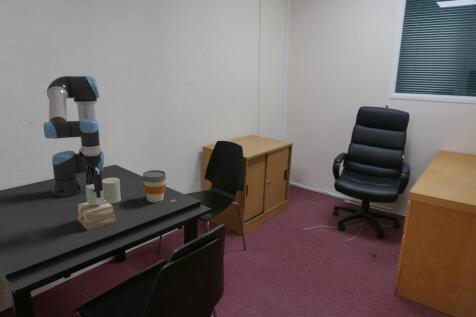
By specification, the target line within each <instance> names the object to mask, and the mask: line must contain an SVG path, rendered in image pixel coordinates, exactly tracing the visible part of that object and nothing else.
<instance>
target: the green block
mask: <svg viewBox="0 0 476 317" xmlns="http://www.w3.org/2000/svg"><path fill="white" fill-rule="evenodd" d="M84 187H85V195H86V196H85V197H86V202H88V203H89V204H90V205H92V206H93V205H96V204H95V195H94V191H95V188H94V184H91V185H88V184H87V185H85V186H84ZM101 200H102V203H104V202H105V200H104V187H103V190H102V191H101Z"/></svg>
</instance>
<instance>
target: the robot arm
mask: <svg viewBox="0 0 476 317" xmlns="http://www.w3.org/2000/svg"><path fill="white" fill-rule="evenodd" d="M46 96H47V98H48V109H49V110H48V121H45V122H44V123H43V134H44V137H45V139H49V140H50V139H68V138H80V146H81V147H80V148H79V149H78V152H77V153H76V152H75V151H74V150H65V151H63V150H62V151H60V152H57V153H55V154H54V155H52V157H51V161H52V162H51V164H52V171H53V172H52V173H53V178H54V180H53V181H54V182H53V185H52V190H51V192H52V195H53V196H54V197H56V198H57V197H58V198H59V197H60V198H64V197H65V198H67V197H72V196H76V195H79V194H80V193H82V191H83V190H82V184H81V183H80V180H79V178H78V175H79V174H80V175H81V174H85V181H86V182H85V183H86V184H87V185H91V184H94V188H95V191H94V195H95V204H96V205H97V204H101V203H102V200H101V191H102V190H103V186H102V180H103V178H102V171H103V170H104V165H105V164H104V162H105V152H104V151H103V150H102V149H101V144H100V143H101V142H100V133H99V132H100V130H99V128H100V127H99V122H98V120H97V119H96V110H95V104H96V103H97V102H98V99H99V98H100V92H99V88H98V83H97V80H96V78H95V77H94V76H88V75H82V76H81V75H80V76H79V75H78V76H77V75H75V76H74V75H67V76H66V75H62V76H59V77H57V78H55V79H54V80H52V81H51V82H50V84H49V85H48V87H47V90H46ZM68 99H73V102H74V103H75V104H76V105H77V114H78V120H68V115H67V114H68V112H67V100H68Z"/></svg>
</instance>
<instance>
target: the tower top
mask: <svg viewBox="0 0 476 317" xmlns="http://www.w3.org/2000/svg"><path fill="white" fill-rule="evenodd" d="M104 200H105V199H104ZM77 213H79V214H80V215H81V216H82V217H83V218H84V219H85V220H86V221H87V222H89V221H93V220H97V219H100V218H104V217H107V216H111V215H114V214H115V213H114V206H113V205H112V203H108V202H107V201H106V200H105V202H104V203H101V204H97V205H93V206H92V205H90V204H89V203H88V202H87V201H86V202H85V201H84V202H81V203H77Z"/></svg>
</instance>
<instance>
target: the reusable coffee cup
mask: <svg viewBox="0 0 476 317" xmlns="http://www.w3.org/2000/svg"><path fill="white" fill-rule="evenodd" d="M166 180H167V174H166V172H165V171H163V170H158V169H153V170H146V171H145V172H143V173H142V181H143V190H144V193H145V196H146V201H147V202H149V201H150V202H149V203H159V202H158V201H160V202H161V200H162V201H163V200H164V197H165V196H164V195H165V192H166V183H167V182H166Z"/></svg>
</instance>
